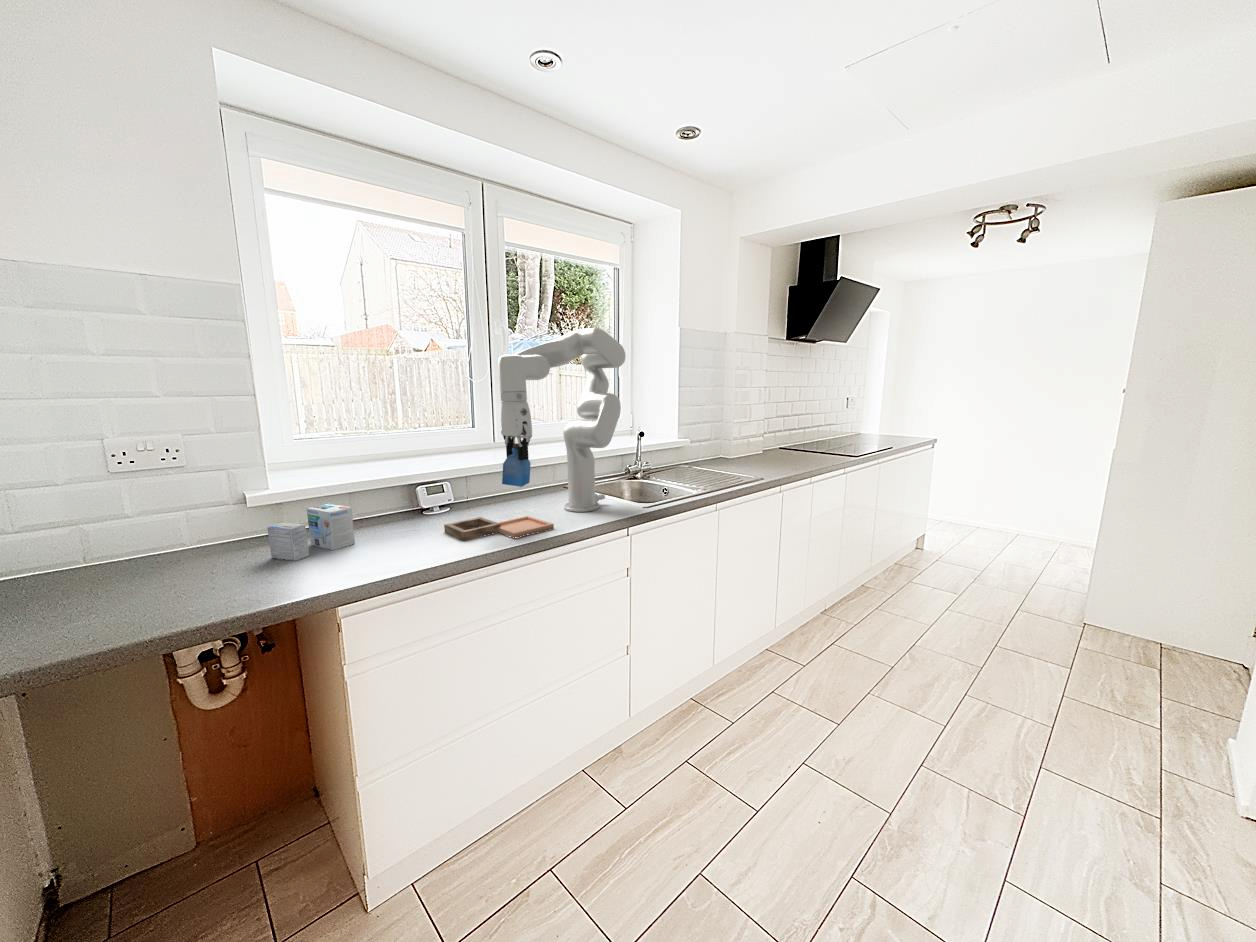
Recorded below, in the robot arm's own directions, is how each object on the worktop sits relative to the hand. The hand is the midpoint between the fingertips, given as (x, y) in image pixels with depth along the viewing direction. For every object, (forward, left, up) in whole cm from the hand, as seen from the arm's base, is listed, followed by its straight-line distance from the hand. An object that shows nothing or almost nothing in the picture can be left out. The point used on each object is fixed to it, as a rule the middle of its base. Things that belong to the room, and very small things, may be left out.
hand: (517, 458), depth 151 cm
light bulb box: (+45, -26, -22) cm, 56 cm away
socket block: (+12, -8, -22) cm, 26 cm away
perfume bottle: (0, -1, -8) cm, 8 cm away
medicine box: (+56, -22, -22) cm, 64 cm away
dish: (0, 0, -22) cm, 22 cm away
